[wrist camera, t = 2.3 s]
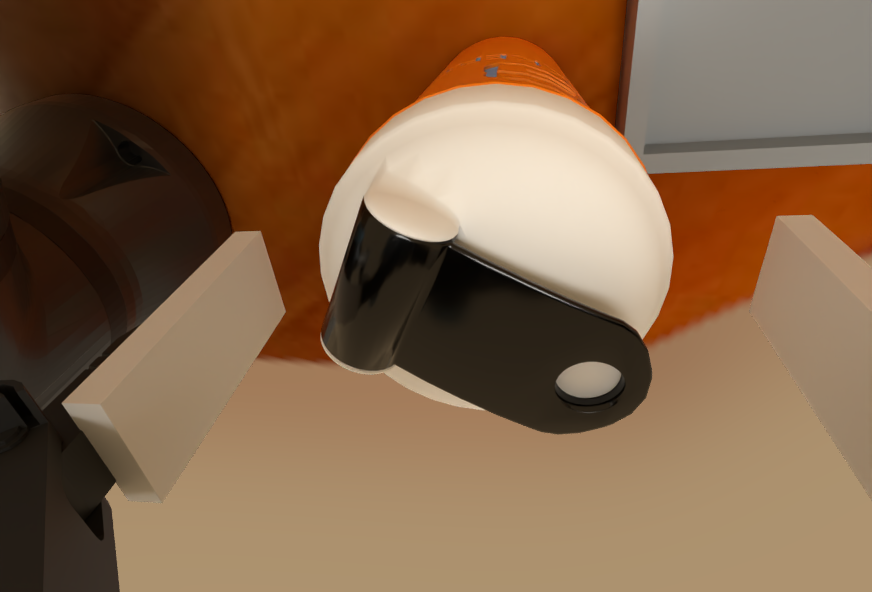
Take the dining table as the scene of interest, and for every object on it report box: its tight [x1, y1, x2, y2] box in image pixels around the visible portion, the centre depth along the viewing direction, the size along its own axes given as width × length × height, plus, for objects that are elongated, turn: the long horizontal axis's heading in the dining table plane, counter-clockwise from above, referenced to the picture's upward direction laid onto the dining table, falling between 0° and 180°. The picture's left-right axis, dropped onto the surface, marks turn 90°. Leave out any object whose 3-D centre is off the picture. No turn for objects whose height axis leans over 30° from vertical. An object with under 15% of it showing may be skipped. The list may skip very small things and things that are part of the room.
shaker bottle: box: [319, 36, 673, 434], centre depth 19 cm, size 9×9×20 cm
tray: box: [615, 0, 872, 174], centre depth 22 cm, size 14×14×2 cm
